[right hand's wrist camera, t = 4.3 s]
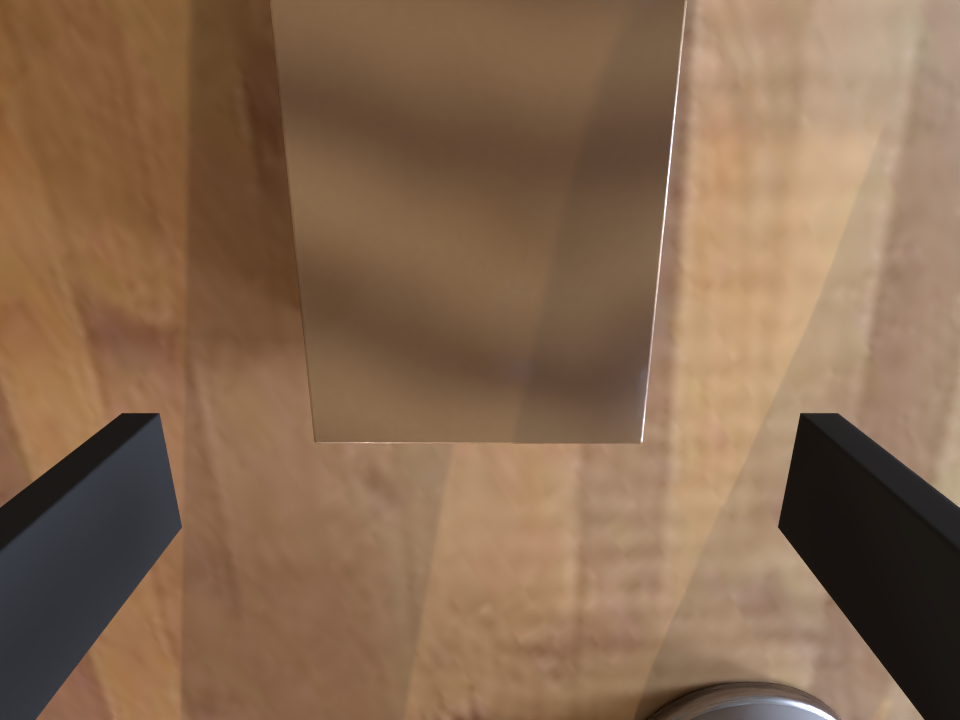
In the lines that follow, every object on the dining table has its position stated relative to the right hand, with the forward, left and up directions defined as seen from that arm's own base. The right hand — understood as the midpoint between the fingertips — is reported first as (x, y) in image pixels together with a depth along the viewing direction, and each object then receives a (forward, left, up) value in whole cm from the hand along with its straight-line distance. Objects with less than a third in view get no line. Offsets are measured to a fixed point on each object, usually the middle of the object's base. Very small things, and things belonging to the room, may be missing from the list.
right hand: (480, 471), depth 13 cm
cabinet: (+2, -6, -18) cm, 19 cm away
